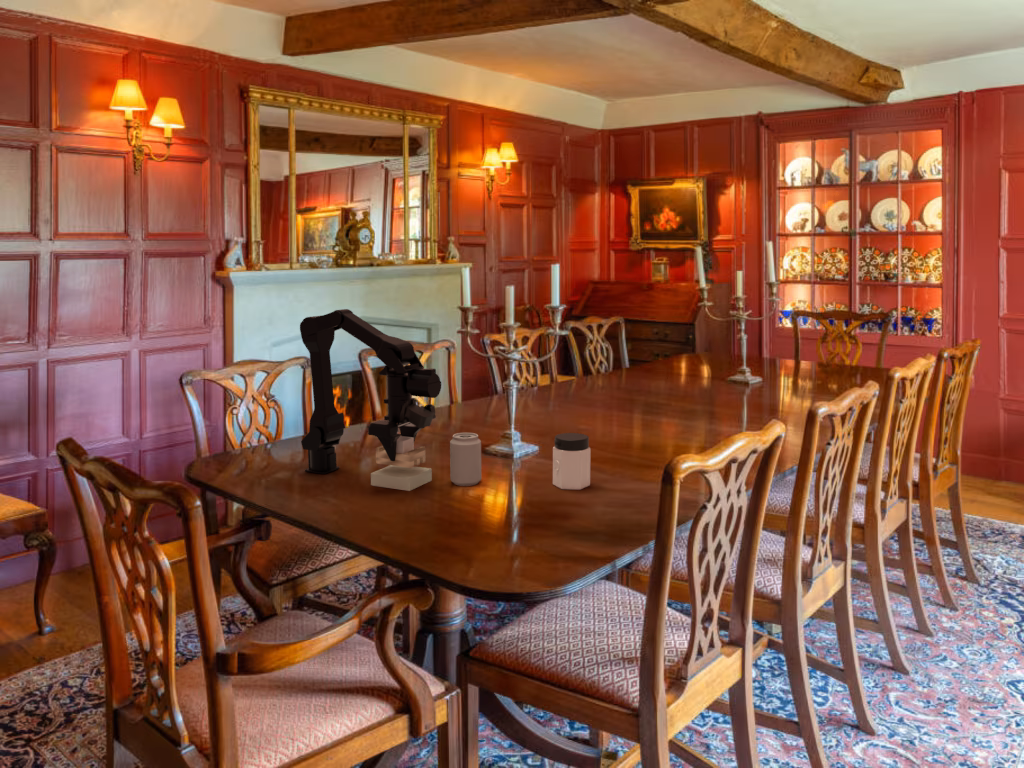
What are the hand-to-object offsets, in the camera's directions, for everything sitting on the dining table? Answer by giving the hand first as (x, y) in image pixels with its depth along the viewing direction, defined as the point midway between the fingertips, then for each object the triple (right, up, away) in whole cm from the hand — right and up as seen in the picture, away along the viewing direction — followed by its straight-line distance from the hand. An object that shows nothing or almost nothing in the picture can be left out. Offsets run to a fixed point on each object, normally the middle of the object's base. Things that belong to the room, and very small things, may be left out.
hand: (400, 457), depth 206 cm
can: (+16, -6, +1) cm, 17 cm away
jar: (+41, -7, -1) cm, 42 cm away
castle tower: (0, -1, 0) cm, 1 cm away
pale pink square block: (0, +2, 0) cm, 2 cm away
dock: (0, -6, +1) cm, 6 cm away
